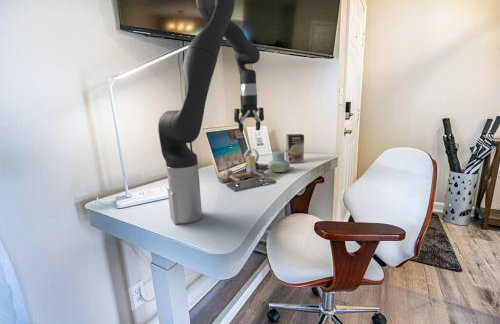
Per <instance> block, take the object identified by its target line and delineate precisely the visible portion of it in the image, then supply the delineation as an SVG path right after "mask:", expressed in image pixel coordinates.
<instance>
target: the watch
mask: <svg viewBox="0 0 500 324" xmlns="http://www.w3.org/2000/svg"><path fill="white" fill-rule="evenodd" d="M252 151H253V152H254V153H255V167H256V170H258V169H259V163H258V160H259V158H260V155H259V152H258V150H257V149H255V148H247V150H246V151H245V152H244V154H243V157H244V160H245V162H246V163H245V167H246V166H247V160H246V156H251V155H252ZM257 168H258V169H257Z"/></svg>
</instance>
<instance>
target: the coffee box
mask: <svg viewBox="0 0 500 324" xmlns="http://www.w3.org/2000/svg"><path fill="white" fill-rule="evenodd" d="M285 136H286V137H285V138H286V139H285V160H286V161H287V162H288V163H289V165H290V164H304V163H305V162H304V161H305V160H304V158H305V157H304V156H305V151H304V150H305V135H304V134H302V133H293V134H290V133H289V134H288V133H287V134H286V135H285Z"/></svg>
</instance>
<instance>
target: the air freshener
mask: <svg viewBox="0 0 500 324" xmlns="http://www.w3.org/2000/svg"><path fill="white" fill-rule="evenodd" d="M290 167H291V166H290V164H289V163H288V162H287V161H286V154H285V152H284V151H281V150H280V151H279V150H277V151H275V150H274V151H273V152H272V160H270V161H269V162H268V164H267V168H268V169H269V170H270V171H271V172H273V173H275V172H282V173H284V172H287V171H288V170H289V168H290Z"/></svg>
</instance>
